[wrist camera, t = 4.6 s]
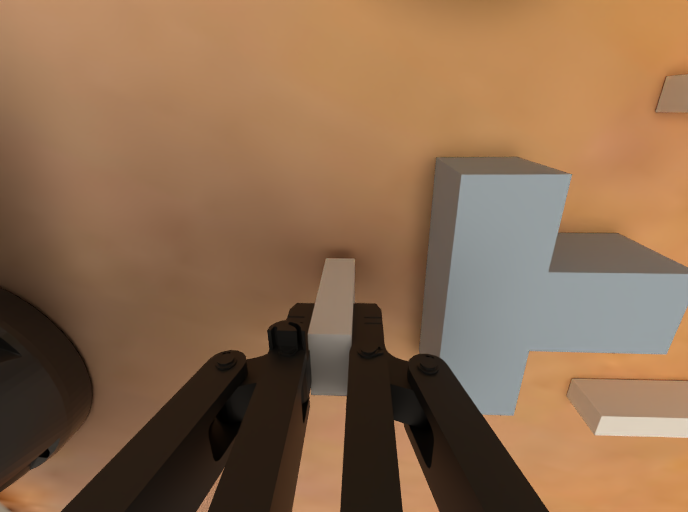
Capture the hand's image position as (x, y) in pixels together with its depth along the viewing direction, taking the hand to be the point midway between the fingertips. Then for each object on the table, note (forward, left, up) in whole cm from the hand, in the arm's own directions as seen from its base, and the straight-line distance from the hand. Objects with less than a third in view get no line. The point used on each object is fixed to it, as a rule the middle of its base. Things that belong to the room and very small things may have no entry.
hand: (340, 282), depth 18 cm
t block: (+9, 0, -2) cm, 9 cm away
